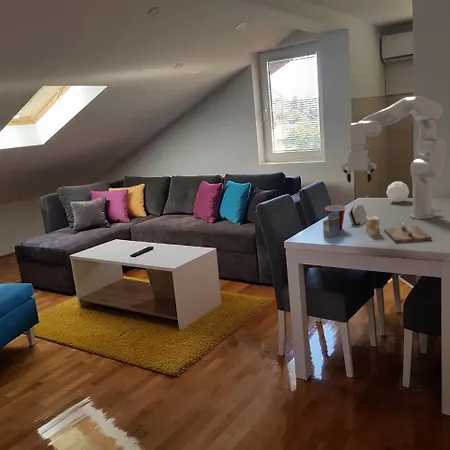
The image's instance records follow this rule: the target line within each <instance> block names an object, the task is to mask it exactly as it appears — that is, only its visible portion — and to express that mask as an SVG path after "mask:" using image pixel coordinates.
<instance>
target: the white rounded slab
mask: <svg viewBox="0 0 450 450" xmlns="http://www.w3.org/2000/svg"><path fill="white" fill-rule="evenodd" d="M368 216H370V215H369V214H367V211H366V209H365V206H364V205H362V204H360V205H354V206H352V207H350V209H349V210H348V217H349V219H350V220H349V221H350V222H351V226H352V225H353V226H354V225H356V224H357V225H358V224H359V226H362V225H364V224H366V217H368Z"/></svg>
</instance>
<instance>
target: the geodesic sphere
mask: <svg viewBox="0 0 450 450" xmlns="http://www.w3.org/2000/svg"><path fill="white" fill-rule="evenodd" d="M409 194H410V190H409V187H408V185H407V184H406V183H404V182H403V181H398V180H397V181H396V180H395V181H394V182H392V183H390V184H389V185H388V186H387V190H386V196H387V198H388V199H389V200H390V201H392V202H393V203H402V202H404V201H406V200H407V199H408V197H409Z"/></svg>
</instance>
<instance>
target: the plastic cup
mask: <svg viewBox="0 0 450 450" xmlns="http://www.w3.org/2000/svg"><path fill="white" fill-rule="evenodd" d="M346 208H347V207H346V206H345V205H337V204H335V205H333V204H332V205H328V206H326V207H325V208H324V209H325V211H326V214H327V219H329V217H328V214H330V213H333V212H336V211H339V231H341V230H343V223H344V219H345V217H344V216H345V212H346ZM332 216H335V214H333V215H332Z"/></svg>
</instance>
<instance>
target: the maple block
mask: <svg viewBox="0 0 450 450" xmlns="http://www.w3.org/2000/svg"><path fill="white" fill-rule="evenodd" d="M380 226H381V225H380V218H379V217H378V216H377V215H371V216H370V215H369V216H368V217H366V222H365V230H366V234H367V235H368V236H369V237H373V236H380V235H381V232H380V231H381V230H380V229H381V228H380Z"/></svg>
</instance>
